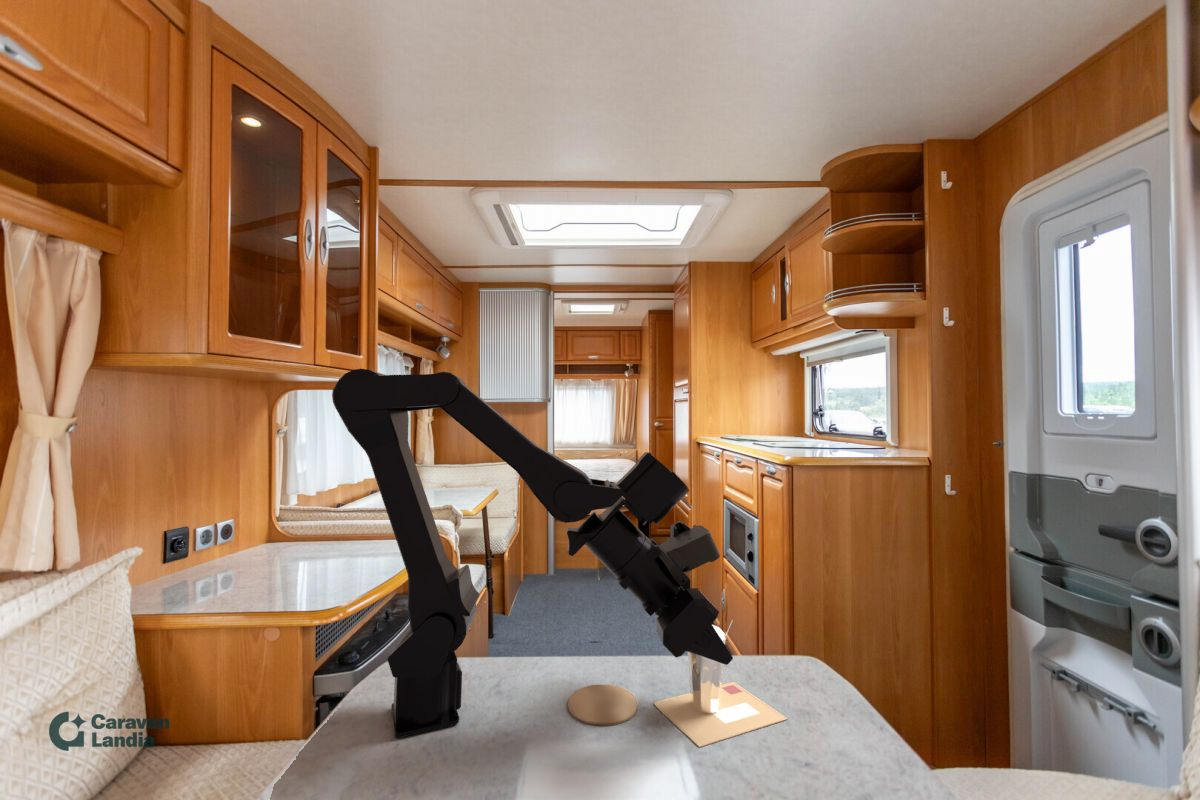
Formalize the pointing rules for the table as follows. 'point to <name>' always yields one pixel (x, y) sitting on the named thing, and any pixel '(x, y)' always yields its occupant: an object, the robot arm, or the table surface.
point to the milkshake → (706, 680)
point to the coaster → (602, 705)
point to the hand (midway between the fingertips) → (720, 649)
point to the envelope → (720, 715)
